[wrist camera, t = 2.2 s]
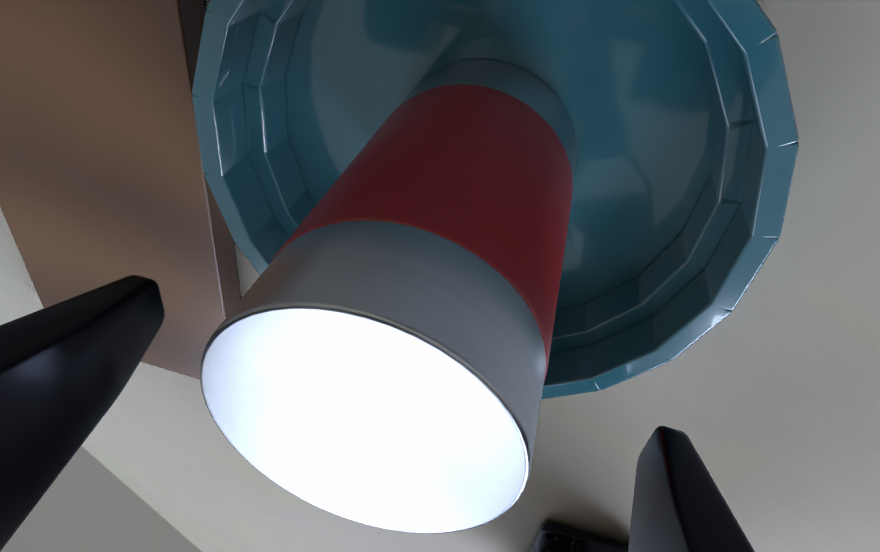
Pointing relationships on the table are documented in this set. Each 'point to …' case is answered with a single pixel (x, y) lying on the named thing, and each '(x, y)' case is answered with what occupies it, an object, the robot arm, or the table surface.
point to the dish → (596, 129)
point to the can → (411, 312)
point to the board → (113, 161)
